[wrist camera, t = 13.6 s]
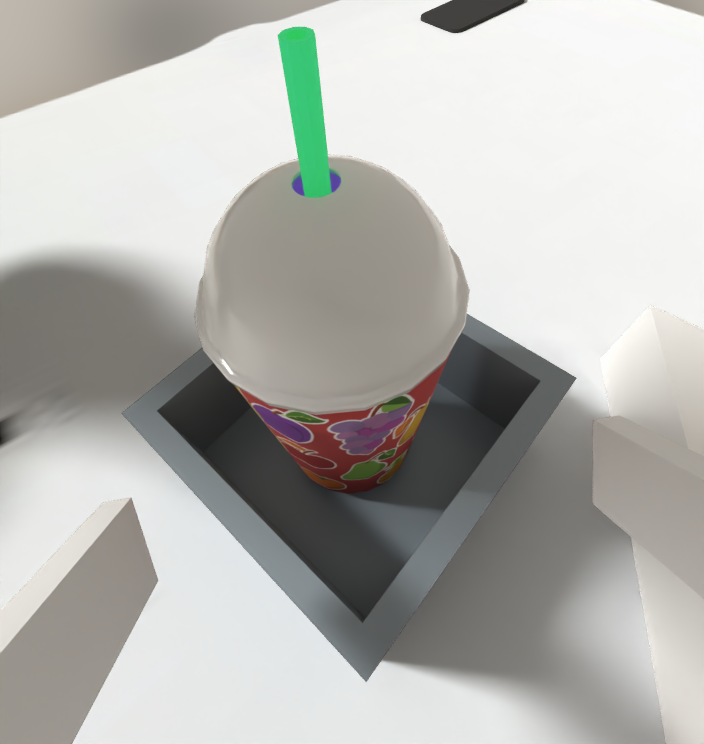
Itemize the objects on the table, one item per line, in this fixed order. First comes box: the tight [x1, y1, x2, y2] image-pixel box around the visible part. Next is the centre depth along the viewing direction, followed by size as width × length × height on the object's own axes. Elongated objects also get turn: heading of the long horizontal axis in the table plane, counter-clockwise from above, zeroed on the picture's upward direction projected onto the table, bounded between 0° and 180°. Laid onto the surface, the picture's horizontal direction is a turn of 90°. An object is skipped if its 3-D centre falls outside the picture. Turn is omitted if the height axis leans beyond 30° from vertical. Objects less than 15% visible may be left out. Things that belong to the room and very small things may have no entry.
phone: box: [421, 0, 524, 33], centre depth 57 cm, size 7×1×15 cm
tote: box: [122, 314, 576, 682], centre depth 22 cm, size 15×15×7 cm
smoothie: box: [194, 27, 470, 494], centre depth 15 cm, size 8×8×20 cm
